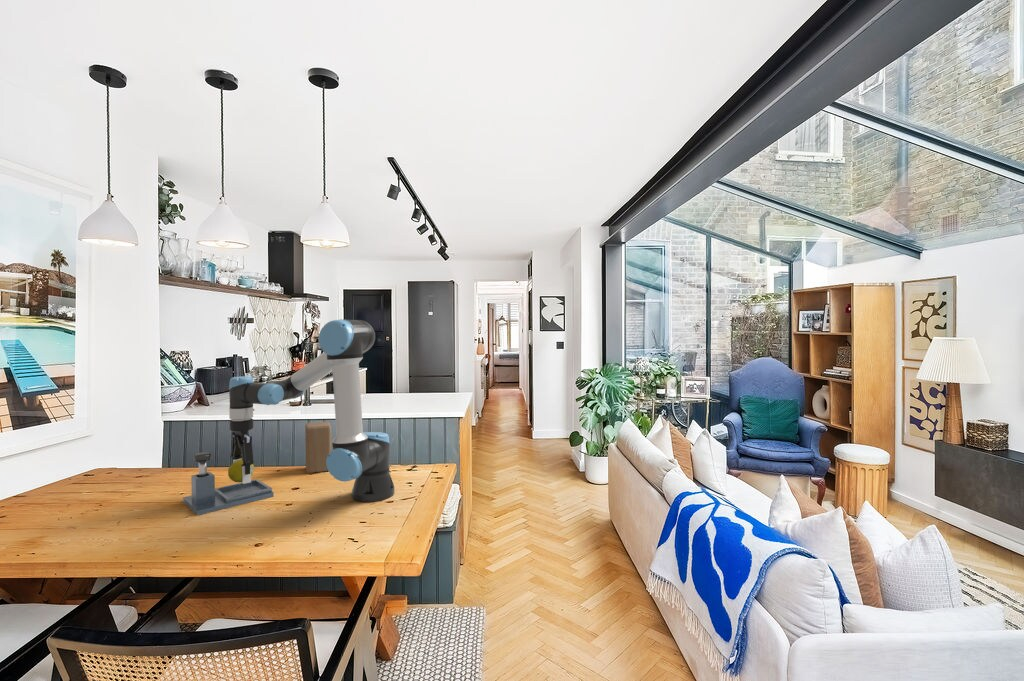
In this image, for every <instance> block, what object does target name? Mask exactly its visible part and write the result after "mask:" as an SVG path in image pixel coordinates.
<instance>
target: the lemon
mask: <svg viewBox="0 0 1024 681" xmlns="http://www.w3.org/2000/svg"><path fill="white" fill-rule="evenodd" d="M239 459H240V460H237V461H235V462H234V463H233V462H232V463H231V465H230V466H229V468H228V470H227V475H228V477H229V479H230V480H231V481H232V482H235V483H242V466H241V465H242V464H243V460H242V458H239ZM254 471H255V466H254V463H253V464H251V477H252V476H253V474H254V473H255V472H254Z"/></svg>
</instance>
